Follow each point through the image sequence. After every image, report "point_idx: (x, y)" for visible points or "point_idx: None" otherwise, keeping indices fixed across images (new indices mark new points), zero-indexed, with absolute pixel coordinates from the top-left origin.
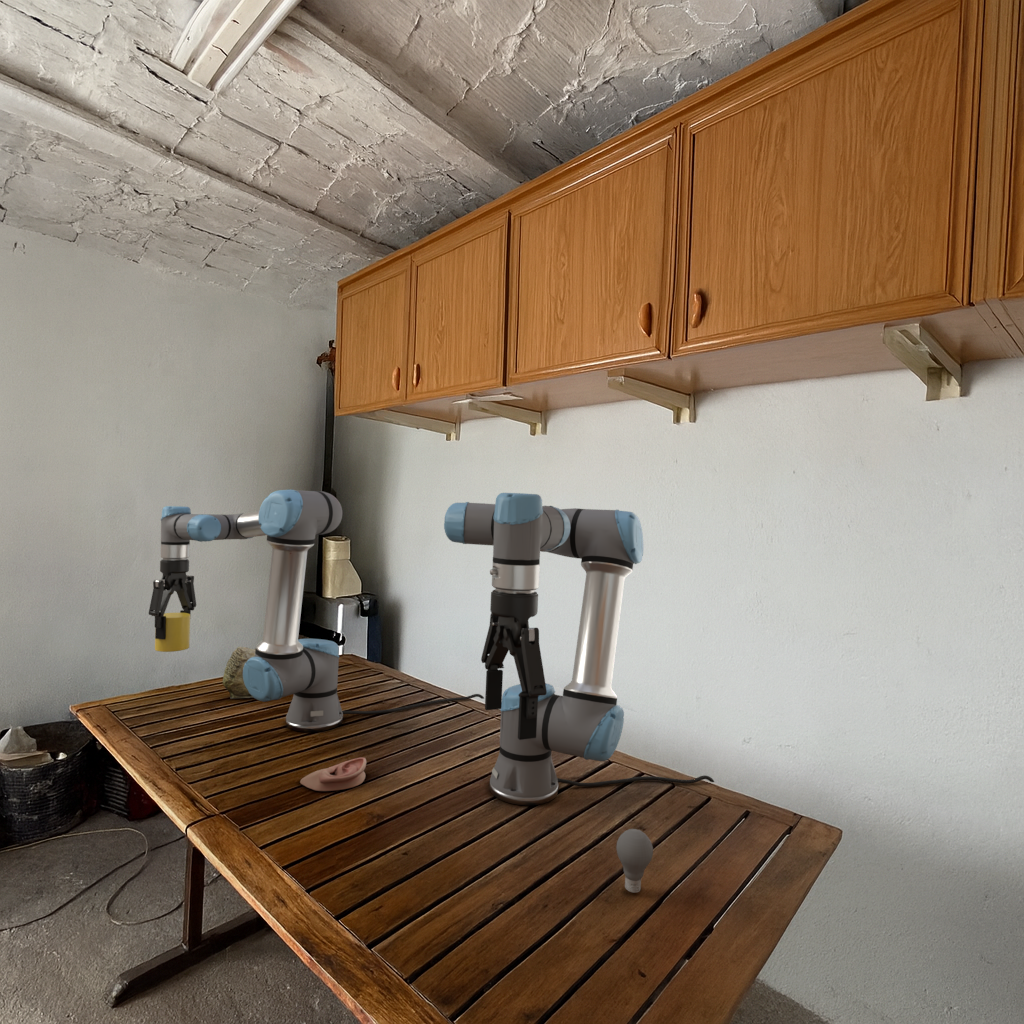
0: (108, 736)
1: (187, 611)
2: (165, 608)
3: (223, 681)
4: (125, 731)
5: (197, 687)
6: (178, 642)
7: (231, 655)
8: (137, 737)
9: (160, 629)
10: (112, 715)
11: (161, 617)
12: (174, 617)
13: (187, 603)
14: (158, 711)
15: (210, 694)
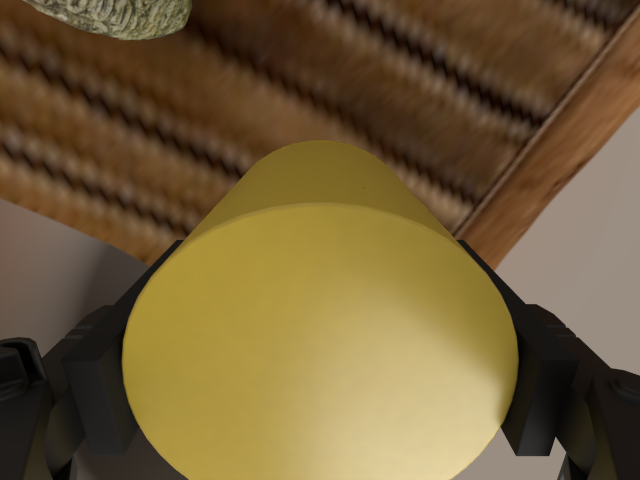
0: (612, 132)
1: (101, 366)
2: (633, 471)
3: (179, 20)
4: (568, 117)
5: (142, 214)
6: (379, 164)
7: (45, 3)
8: (616, 39)
9: None
10: None
11: (575, 377)
12: (457, 286)
13: (21, 478)
14: (387, 157)
15: (180, 120)
